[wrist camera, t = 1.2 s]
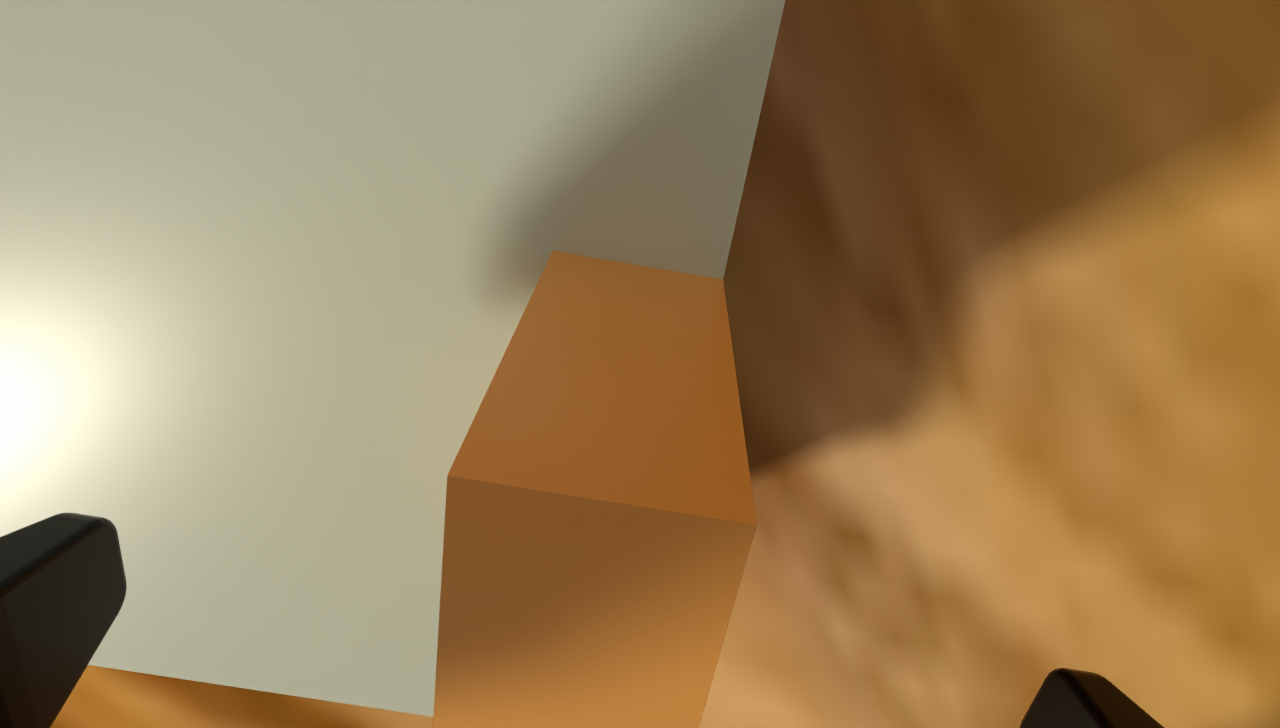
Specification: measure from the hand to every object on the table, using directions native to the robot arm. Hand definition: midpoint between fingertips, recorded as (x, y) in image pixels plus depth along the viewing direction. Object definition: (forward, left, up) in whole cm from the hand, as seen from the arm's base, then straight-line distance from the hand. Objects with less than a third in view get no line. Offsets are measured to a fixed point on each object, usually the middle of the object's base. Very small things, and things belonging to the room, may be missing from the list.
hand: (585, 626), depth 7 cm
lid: (+7, 0, -5) cm, 9 cm away
